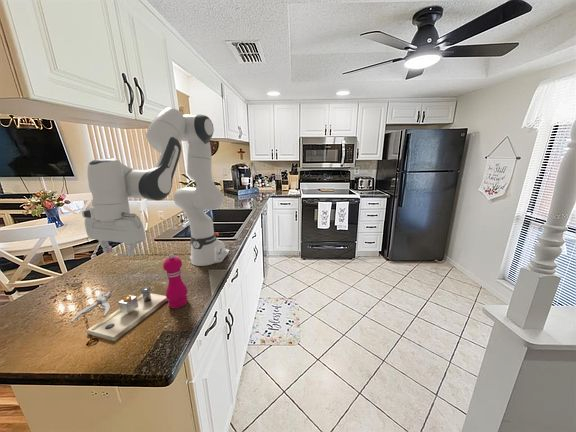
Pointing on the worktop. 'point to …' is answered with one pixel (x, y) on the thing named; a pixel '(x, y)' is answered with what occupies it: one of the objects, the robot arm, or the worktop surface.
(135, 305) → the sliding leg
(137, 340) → the worktop surface
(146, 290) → the fixed leg
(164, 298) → the board
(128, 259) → the worktop surface
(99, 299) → the pliers
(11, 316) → the worktop surface
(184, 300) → the pepper mill
